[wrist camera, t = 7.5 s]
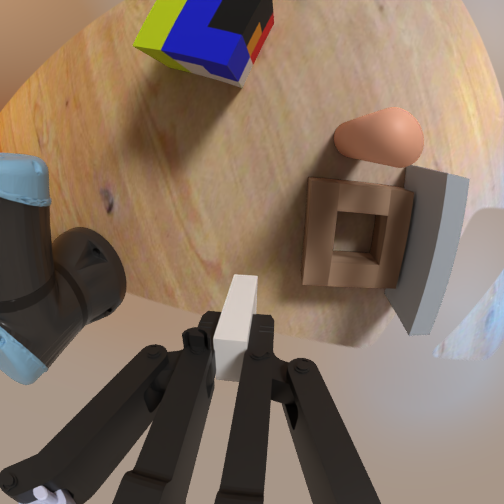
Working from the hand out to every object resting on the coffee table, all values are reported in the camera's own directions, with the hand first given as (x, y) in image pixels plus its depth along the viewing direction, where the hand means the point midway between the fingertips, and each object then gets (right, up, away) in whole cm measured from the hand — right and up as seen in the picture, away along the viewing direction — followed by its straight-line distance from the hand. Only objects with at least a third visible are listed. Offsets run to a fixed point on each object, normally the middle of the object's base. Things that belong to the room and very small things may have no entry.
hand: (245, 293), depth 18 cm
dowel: (+12, +16, +12) cm, 23 cm away
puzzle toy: (-3, +28, +9) cm, 30 cm away
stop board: (+21, +5, +15) cm, 26 cm away
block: (+13, +6, +15) cm, 21 cm away
